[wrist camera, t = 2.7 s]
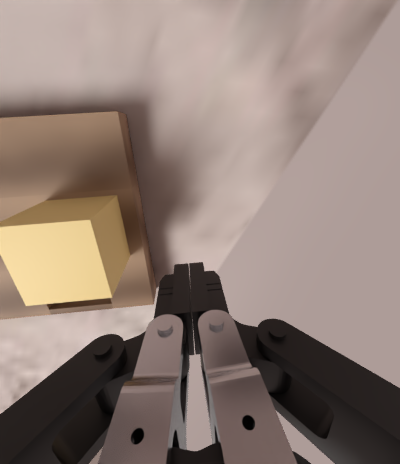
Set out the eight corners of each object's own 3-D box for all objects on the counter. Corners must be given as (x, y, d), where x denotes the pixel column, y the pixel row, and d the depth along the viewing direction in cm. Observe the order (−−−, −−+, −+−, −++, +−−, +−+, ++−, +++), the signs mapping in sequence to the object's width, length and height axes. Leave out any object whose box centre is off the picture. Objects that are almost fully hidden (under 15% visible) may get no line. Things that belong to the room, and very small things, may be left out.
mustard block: (45, 200, 17) (-14, 228, 12) (117, 195, 17) (90, 219, 12) (67, 261, 19) (26, 305, 14) (130, 255, 19) (112, 297, 14)
